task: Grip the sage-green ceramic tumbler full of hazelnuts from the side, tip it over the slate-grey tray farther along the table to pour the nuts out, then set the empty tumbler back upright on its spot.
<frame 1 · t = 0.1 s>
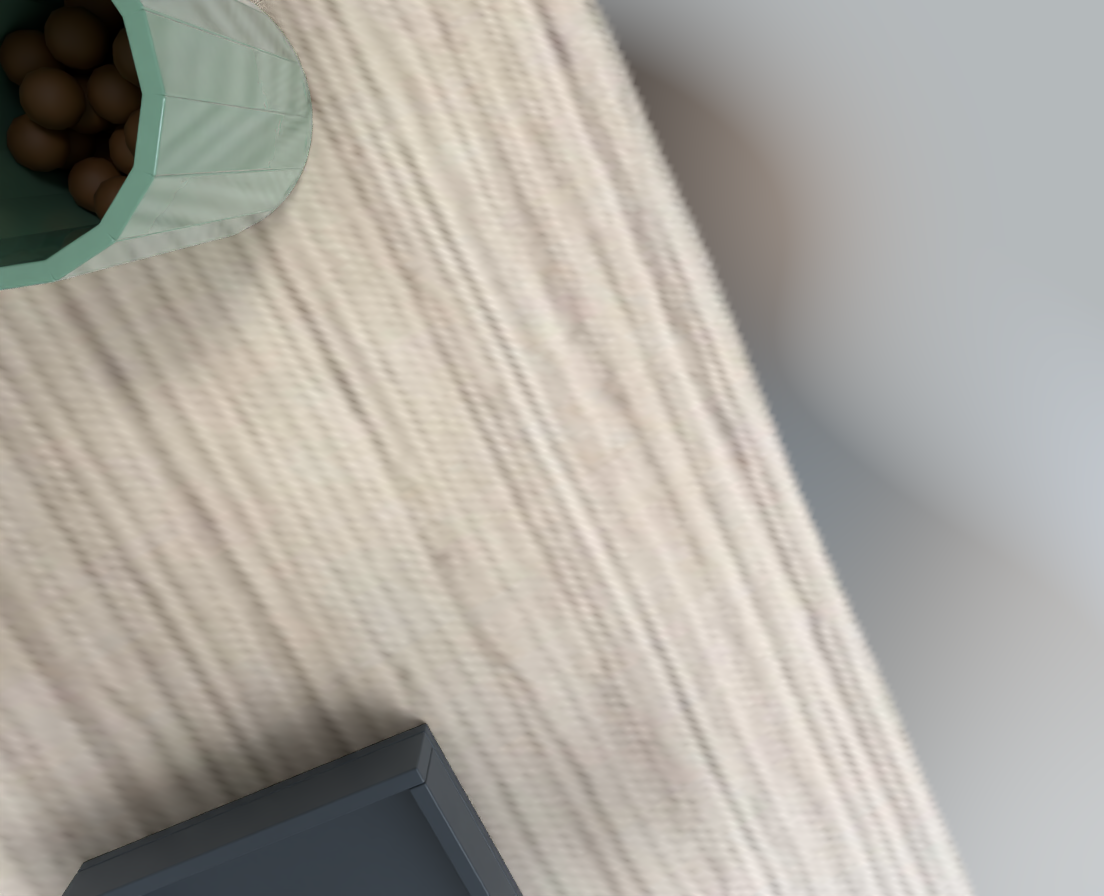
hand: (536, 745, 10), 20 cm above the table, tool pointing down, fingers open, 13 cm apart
tumbler: (188, 111, 27), on the table, 38 hazelnuts inside
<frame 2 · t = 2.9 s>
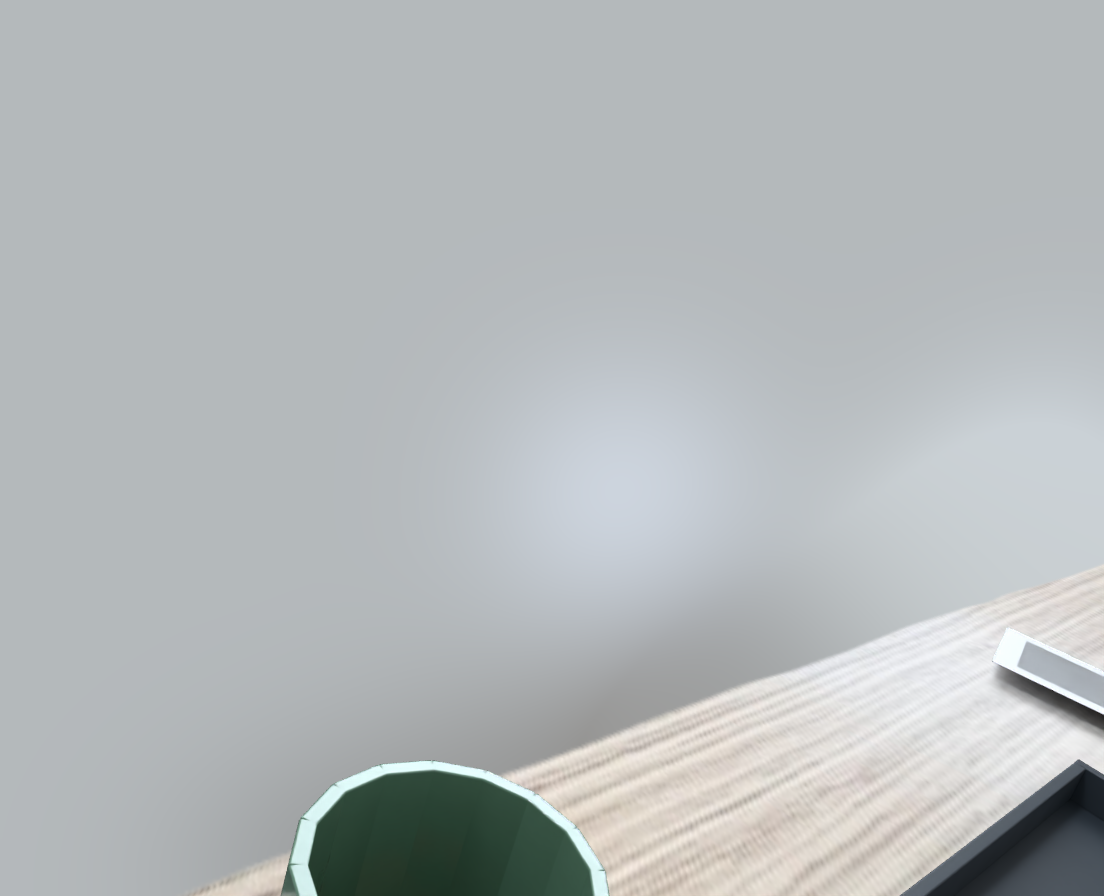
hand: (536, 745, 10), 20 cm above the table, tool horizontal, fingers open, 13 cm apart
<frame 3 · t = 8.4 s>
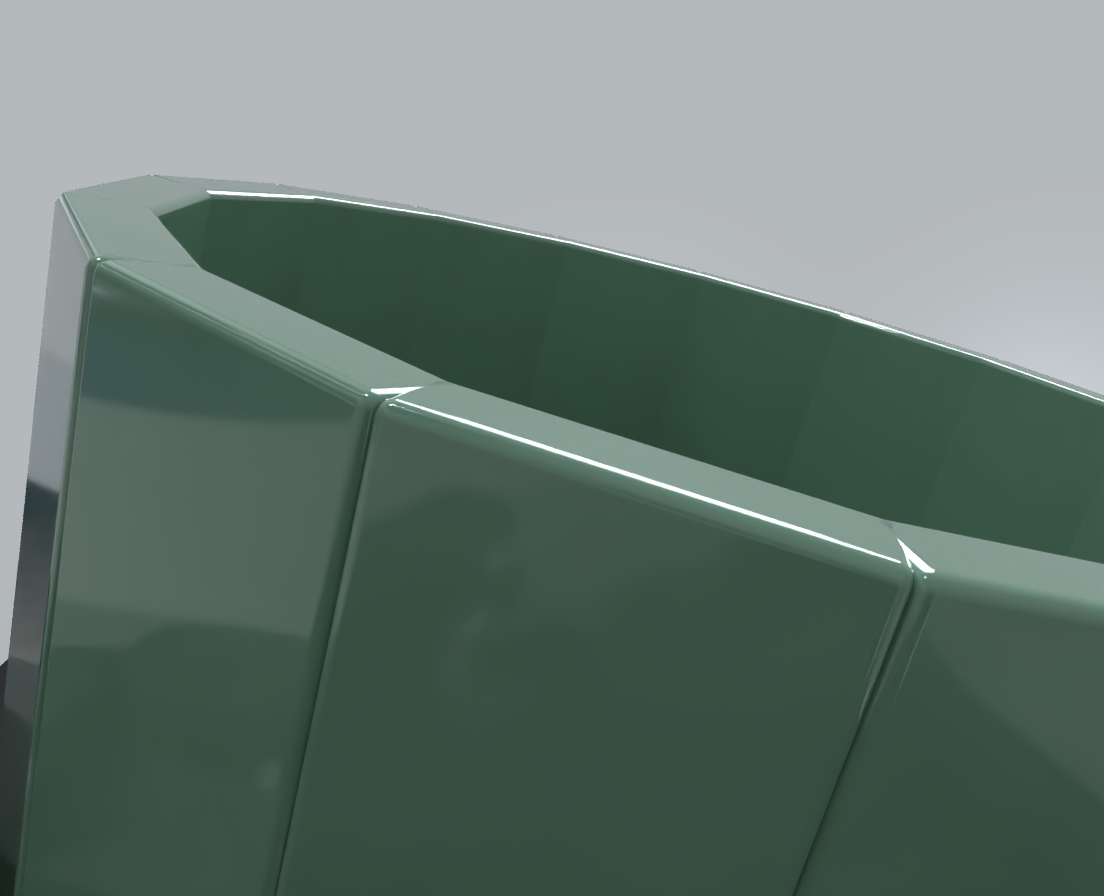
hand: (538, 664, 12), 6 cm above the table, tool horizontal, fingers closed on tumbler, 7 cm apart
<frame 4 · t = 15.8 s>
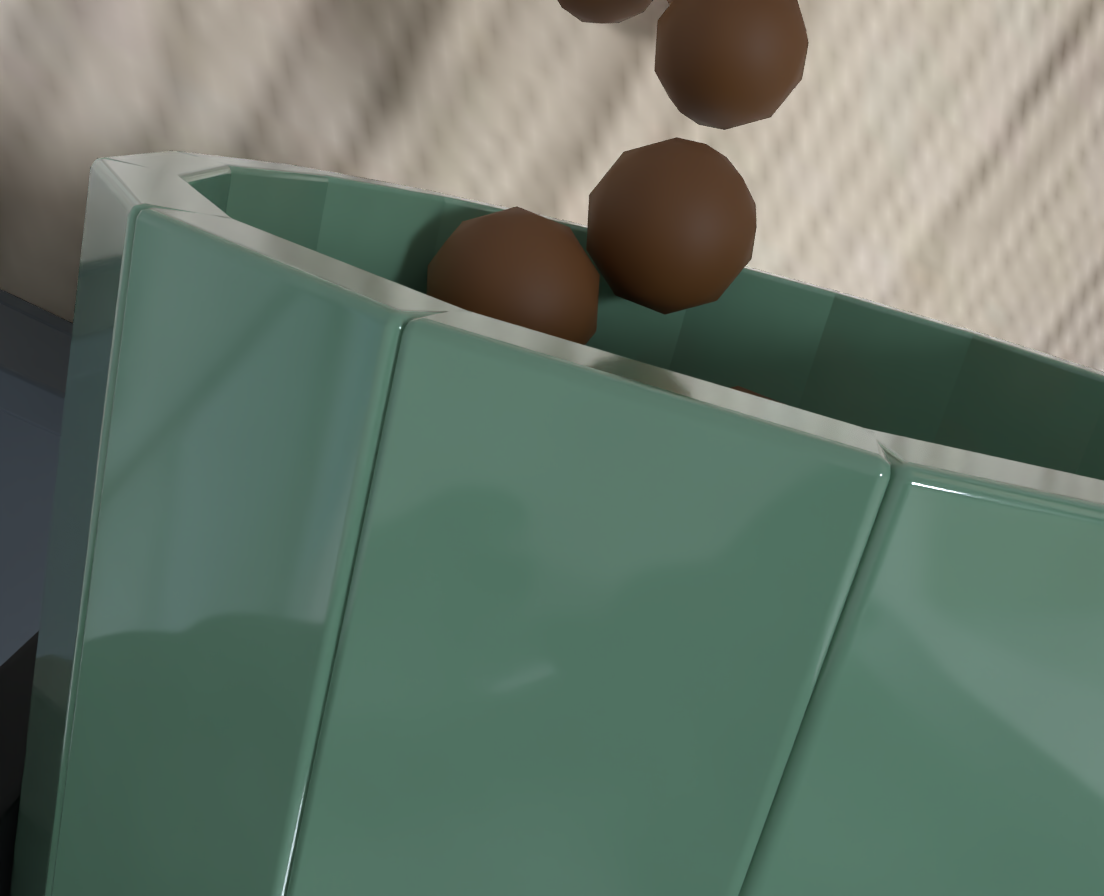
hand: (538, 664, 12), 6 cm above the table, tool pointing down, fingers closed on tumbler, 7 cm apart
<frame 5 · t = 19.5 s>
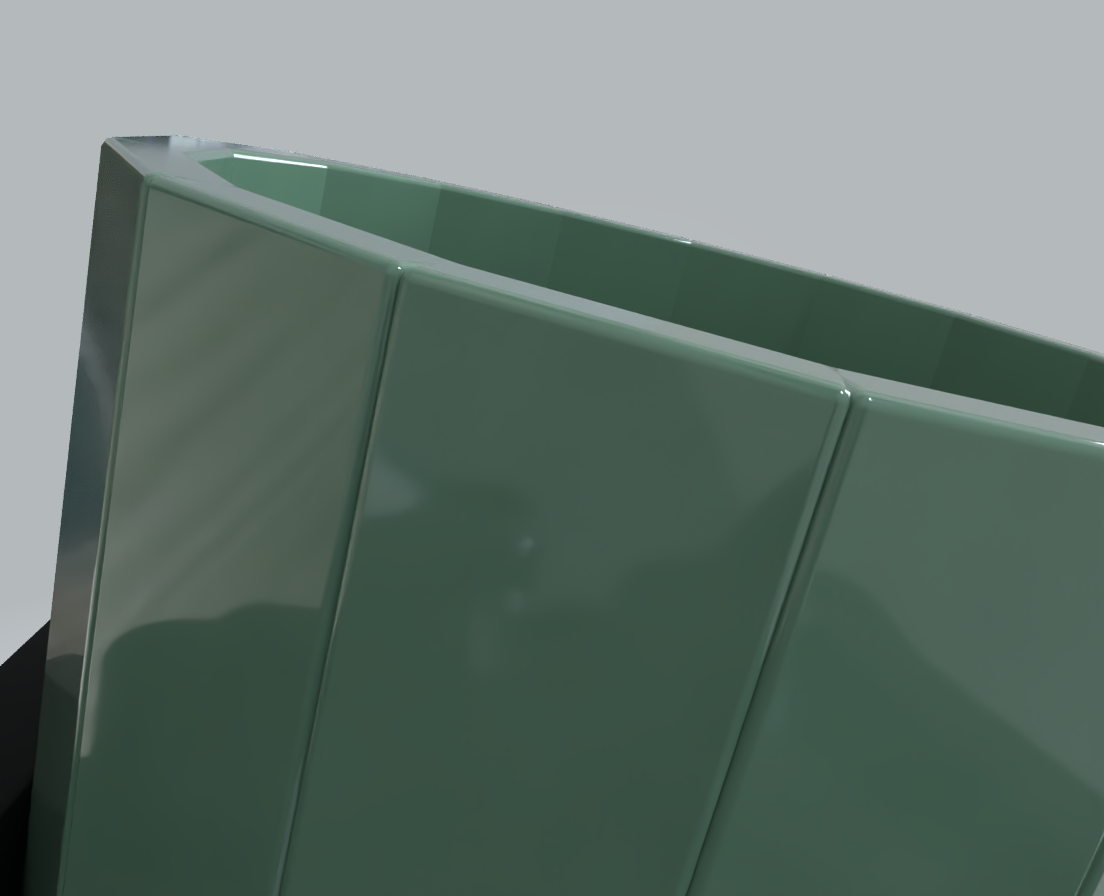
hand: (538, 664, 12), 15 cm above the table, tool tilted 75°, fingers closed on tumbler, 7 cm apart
when the fingers open (7 cm above the table, at t = 26.8 s): tumbler drops 2 cm, on the table.
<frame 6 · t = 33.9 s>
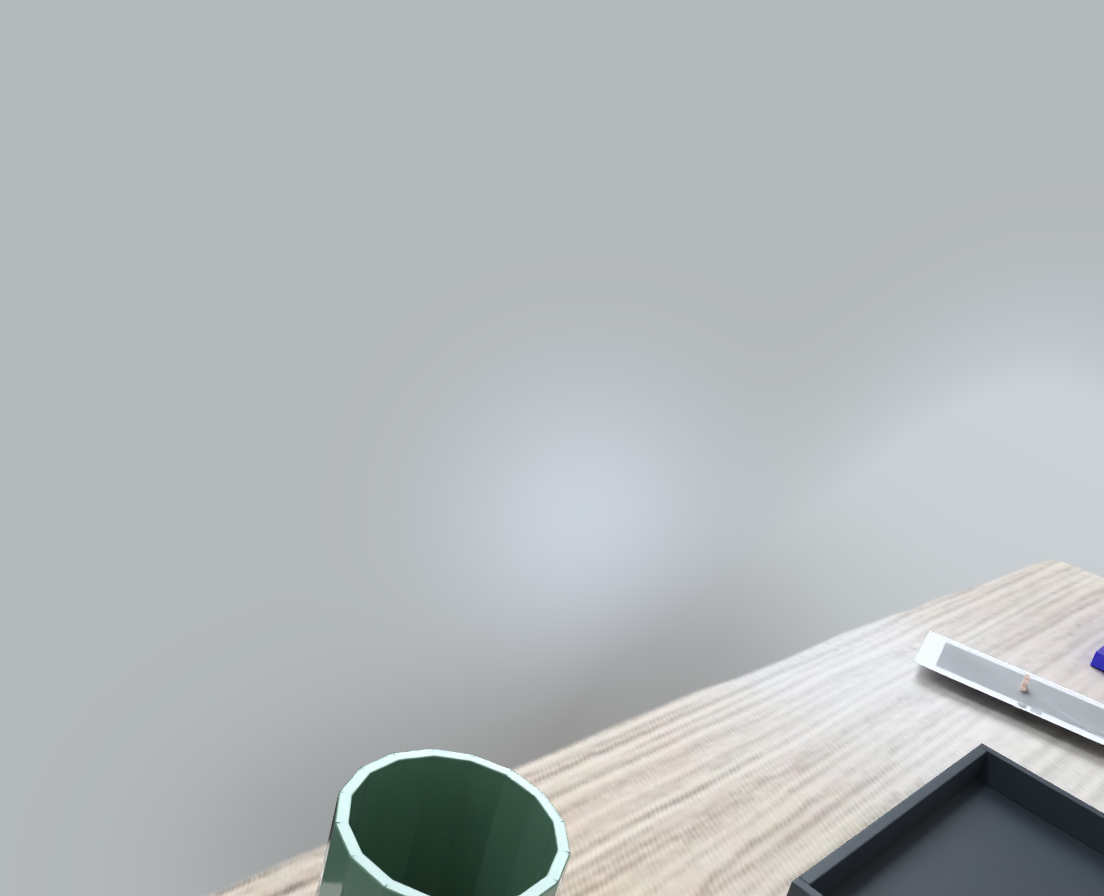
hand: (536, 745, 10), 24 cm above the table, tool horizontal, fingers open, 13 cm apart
touchpad: (1016, 703, 74), on the table
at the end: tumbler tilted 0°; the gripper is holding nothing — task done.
